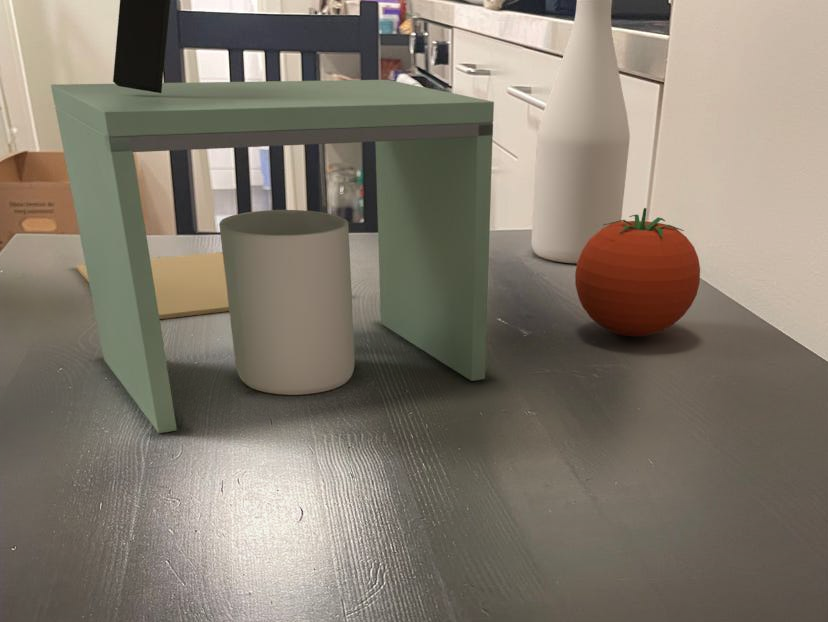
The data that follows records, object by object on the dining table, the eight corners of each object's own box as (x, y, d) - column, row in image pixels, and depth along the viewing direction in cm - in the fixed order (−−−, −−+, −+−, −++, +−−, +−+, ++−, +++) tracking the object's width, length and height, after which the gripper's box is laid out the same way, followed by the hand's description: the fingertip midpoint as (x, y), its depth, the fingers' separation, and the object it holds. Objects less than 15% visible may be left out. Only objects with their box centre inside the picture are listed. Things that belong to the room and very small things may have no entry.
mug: (334, 341, 78) (326, 198, 72) (366, 391, 69) (360, 232, 63) (226, 349, 76) (208, 202, 70) (244, 402, 67) (226, 238, 61)
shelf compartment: (158, 434, 62) (104, 111, 52) (104, 360, 73) (50, 84, 63) (485, 379, 72) (494, 101, 62) (393, 322, 83) (387, 79, 73)
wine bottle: (543, 266, 101) (565, -92, 84) (521, 246, 109) (538, -86, 92) (629, 264, 103) (668, -86, 86) (602, 244, 111) (633, -81, 94)
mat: (124, 323, 81) (123, 318, 81) (76, 269, 95) (75, 265, 95) (345, 297, 89) (344, 293, 89) (271, 251, 104) (270, 247, 103)
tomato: (597, 357, 77) (610, 223, 71) (553, 320, 85) (562, 197, 80) (712, 349, 80) (734, 219, 74) (659, 314, 88) (674, 195, 82)
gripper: (70, -726, 35) (26, -81, 39) (267, -234, 60) (227, 128, 64) (-130, -754, 35) (-153, -110, 39) (149, -253, 60) (117, 110, 64)
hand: (82, 43), depth 52 cm, fingers open, 13 cm apart
